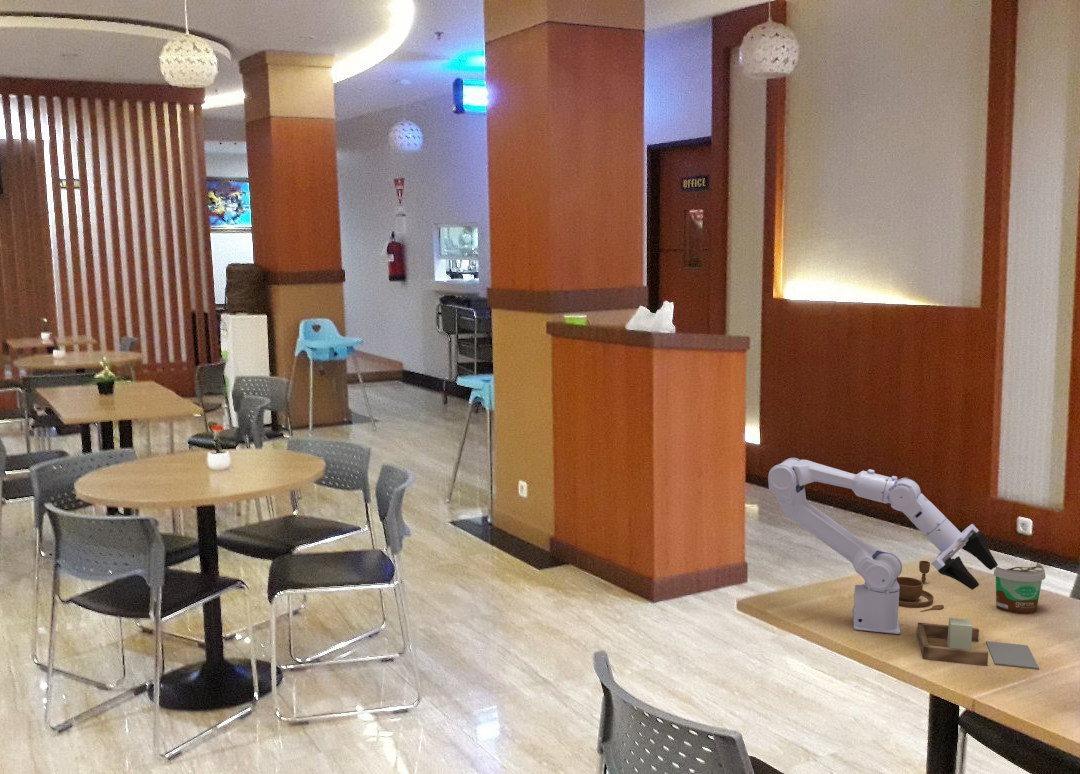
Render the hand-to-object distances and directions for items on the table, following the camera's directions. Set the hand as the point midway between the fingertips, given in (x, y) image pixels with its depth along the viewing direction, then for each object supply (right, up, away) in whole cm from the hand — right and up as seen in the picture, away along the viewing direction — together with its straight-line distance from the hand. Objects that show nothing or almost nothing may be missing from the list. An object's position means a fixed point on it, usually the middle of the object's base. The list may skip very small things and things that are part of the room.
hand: (985, 577), depth 211 cm
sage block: (-6, -15, 0) cm, 16 cm away
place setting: (-2, -11, +32) cm, 34 cm away
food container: (+19, -12, +23) cm, 32 cm away
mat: (+4, -15, -3) cm, 16 cm away
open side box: (-7, -15, 0) cm, 16 cm away
